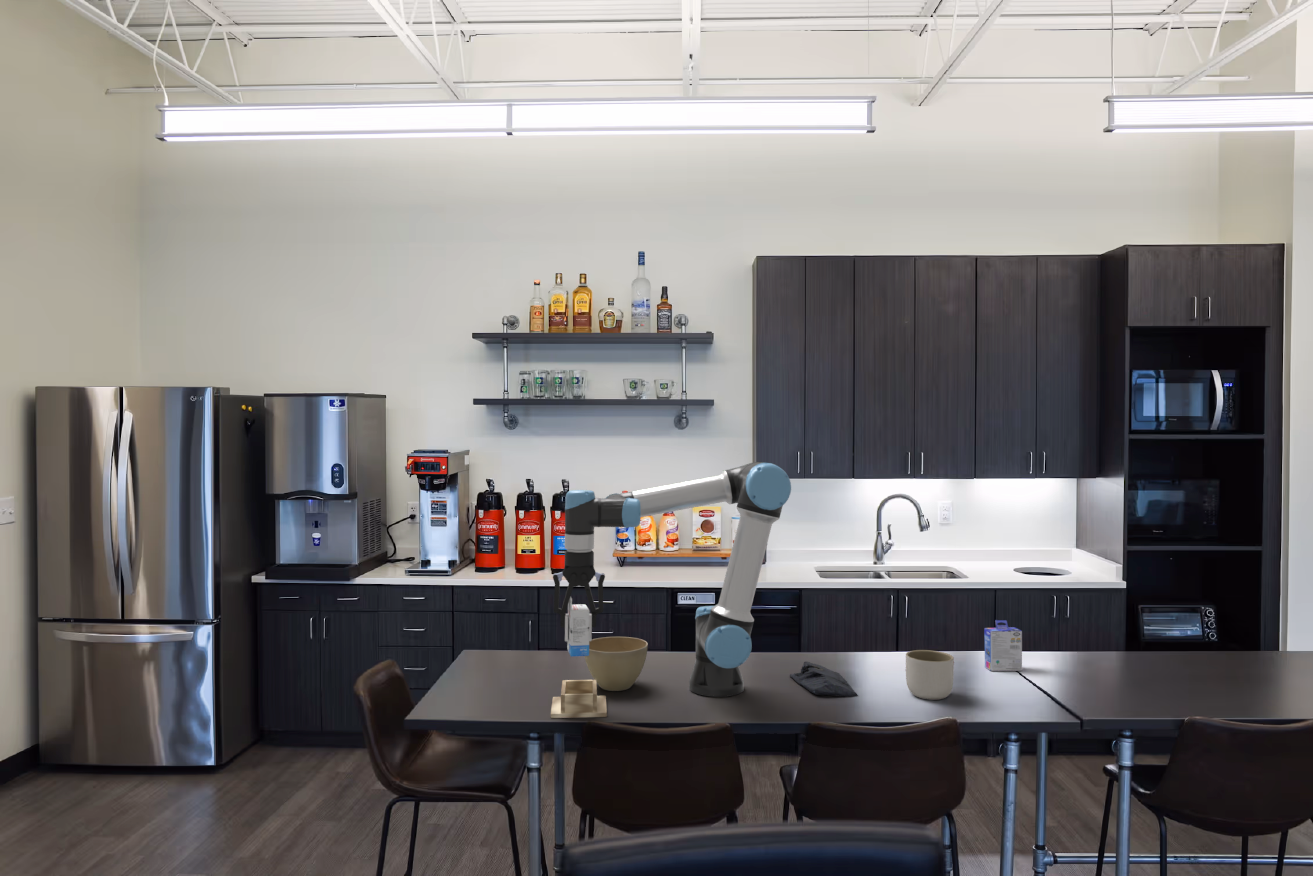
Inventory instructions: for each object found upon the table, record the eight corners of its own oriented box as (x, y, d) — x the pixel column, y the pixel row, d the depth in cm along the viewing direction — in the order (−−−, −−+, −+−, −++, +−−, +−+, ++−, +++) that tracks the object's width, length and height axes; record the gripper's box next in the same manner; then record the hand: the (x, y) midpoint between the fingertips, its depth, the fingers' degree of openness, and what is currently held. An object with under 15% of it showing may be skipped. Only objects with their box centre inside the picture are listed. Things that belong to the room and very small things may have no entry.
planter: (904, 699, 228) (904, 659, 228) (907, 687, 240) (907, 648, 240) (953, 705, 224) (953, 663, 224) (953, 691, 236) (954, 652, 236)
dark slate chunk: (805, 699, 229) (806, 682, 229) (787, 676, 251) (787, 660, 251) (861, 698, 230) (861, 681, 230) (838, 675, 252) (838, 659, 252)
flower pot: (640, 676, 250) (640, 634, 250) (653, 694, 232) (653, 650, 232) (579, 679, 246) (579, 637, 246) (587, 699, 228) (587, 653, 228)
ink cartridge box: (1014, 666, 261) (1015, 619, 261) (1023, 671, 256) (1023, 623, 256) (983, 666, 261) (983, 619, 261) (990, 671, 256) (991, 623, 256)
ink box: (590, 656, 216) (590, 598, 216) (570, 657, 215) (570, 599, 215) (585, 648, 225) (586, 592, 225) (566, 648, 224) (567, 592, 224)
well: (605, 699, 228) (605, 678, 228) (606, 716, 214) (606, 694, 214) (552, 700, 226) (552, 680, 226) (550, 718, 213) (550, 696, 213)
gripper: (614, 548, 224) (613, 636, 224) (544, 548, 223) (543, 636, 223) (615, 552, 217) (614, 643, 217) (542, 552, 215) (541, 643, 215)
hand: (578, 639), depth 220 cm, fingers closed on ink box, 5 cm apart
